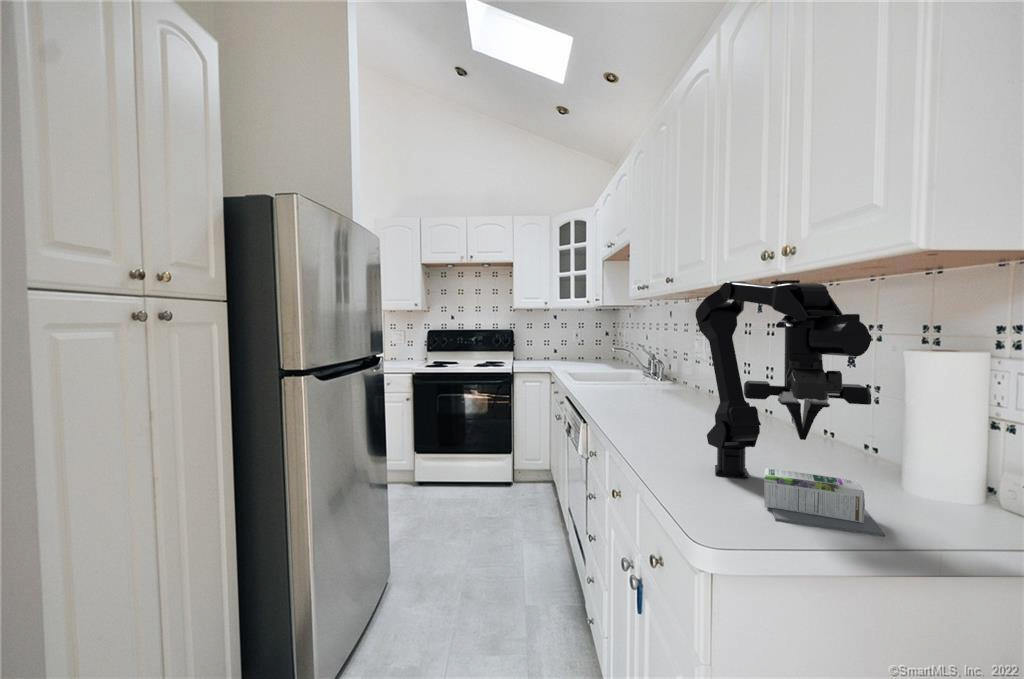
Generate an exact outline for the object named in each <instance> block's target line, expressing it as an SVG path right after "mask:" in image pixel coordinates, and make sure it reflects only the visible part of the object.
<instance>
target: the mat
mask: <svg viewBox="0 0 1024 679" xmlns="http://www.w3.org/2000/svg"><path fill="white" fill-rule="evenodd" d="M771 512H772V514H773V517H774V520H775V521H778V522H785V523H790V524H791V523H792V524H797V525H805V526H812V527H818V528H826V529H833V530H838V531H840V530H841V531H845V532H852V533H860V534H865V535H866V534H867V535H868V534H869V535H874V536H880V537H886V532H884V530H883V529H882V528H881V527H880V525H878V523H877V522H876V520H874V518H873V517H872V516H871V514H870V513H869V512H868V511H867V510H866V509H865V512H864V520H863V522H864V523H860V522H854V521H848V520H842V519H836V518H830V517H824V516H818V515H812V514H805V513H800V512H793V511H788V510H782V509H776V508H771Z"/></svg>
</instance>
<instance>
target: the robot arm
mask: <svg viewBox="0 0 1024 679" xmlns="http://www.w3.org/2000/svg"><path fill="white" fill-rule="evenodd" d="M730 300H731V301H732V302H729V301H730ZM745 302H746V303H752V304H753V303H754V304H759V305H760V304H761V305H766V306H769V307H771V308H772V309H773V310H774V311H775V312H777V313H781V314H783V315H784V317H783V318H781V320H779V321H778V322H777V323H776V324H775V327H776V328H778V329H784V382H783V383H784V385H771V384H770V382H768V381H767V380H747V381H745V382H744V385H743V386H742V379H741V374H740V370H739V365H738V359H737V355H736V354H737V353H736V350H735V344H734V339H733V336H734V334H735V331H736V330H737V326H738V317H739V315H741V314H742V312H744V309H745ZM860 318H861V317H860V313H842V310H841V309H840V308H839V306H838V304H836V302H835V301H834V299H833V298H832V297H831V294H830V293H829V290H828V288H827V285H825V284H822V283H793V282H792V283H783V284H778V285H771V284H761V283H753V282H752V283H751V282H750V283H749V282H746V281H741V280H740V281H734V280H733V281H726V282H724V283H723V284H722V285H721V286H720V287H719V288H718V290H715V291H714V292H712V293H710V294H709V295H708V296H706V297H705V298H704V299H703V300H702V302H701V303H700V304H699V305H698V306H697V308H696V310H695V319H696V322H697V327H698V329H699V331H700V333H702V335H703V336H704V337H705V338H706V339H707V341H708V342H709V348H710V354H711V359H712V364H713V365H712V366H713V371H714V376H715V382H716V387H717V392H718V397H719V399H718V400H719V404H718V406H717V408H716V411H715V414H714V421H715V422H714V425H713V427H712V428H711V429H710V430H709V432H707V434H706V440H707V443H708V445H710V446H712V447H714V448H716V453H717V454H716V464H715V465H714V470H715V471H714V475H715V476H723V477H731V478H740V479H749V475H748V474H749V473H748V470H747V467H746V448H755V447H756V444H757V441H758V437H759V435H760V432H761V430H760V429H761V428H760V426H762V423H761V422H760V419H759V413H758V412H759V411H758V410H759V409H757V407H756V406H753V405H752V406H751V405H750V404H749V403H748V402H747V401H746V399H748V400H765V401H766V399H768V398H769V397H770V396H778V397H777V401H778V403H779V404H781V405H782V406H785V407H786V409H787V410H788V413H789V415H790V417H791V419H792V422H793V425H794V428H795V430H796V433H797V436H798V439H799V440H801V441H802V440H803V441H805V440H806V439H807V437H808V435H809V433H810V430H811V428H812V425H813V424H814V421H815V419H816V417H817V416H818V414H819V413H820V411H822V410H823V408H830V406H831V404H830V403H829V401H830V399H841V400H844V401H845V402H847V404H851V405H866V406H867V405H872V392H871V390H870V389H869V388H868V387H866V386H863V385H861V384H855V383H854V384H853V383H852V384H851V383H843V374H842V372H841V370H827V371H826V372H825V370H824V364H823V355H825V356H840V357H854V358H857V357H859V356H862V355H864V354H865V353H866V352H867V351H868V350H869V347H870V345H871V340H872V337H871V336H872V334H871V333H870V332H869V329H868V328H867V326H866V325H865V324H864V323H863V322H861V320H860ZM799 400H800V401H801V400H803V401H804V402H803V413H802V411H801V410H802V403H801V402H800V401H799Z"/></svg>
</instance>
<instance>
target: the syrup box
mask: <svg viewBox="0 0 1024 679" xmlns="http://www.w3.org/2000/svg"><path fill="white" fill-rule="evenodd" d="M763 479H764V481H763V482H764V486H763V488H764V507H765V508H769V509H772V508H776V509H782V510H788V511H793V512H800V513H805V514H812V515H818V516H824V517H830V518H836V519H842V520H848V521H854V522H860V523H864V522H863V520H864V512H865V510H866V503H865V502H866V499H865V492H864V490H863V487H862V485H861V484H860V483H861V482H859V480H856V479H849V478H841V477H833V476H827V475H818V474H812V473H805V472H797V471H790V470H784V469H783V470H782V469H775V468H773V469H772V468H767V467H766V468H764V478H763Z"/></svg>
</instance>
